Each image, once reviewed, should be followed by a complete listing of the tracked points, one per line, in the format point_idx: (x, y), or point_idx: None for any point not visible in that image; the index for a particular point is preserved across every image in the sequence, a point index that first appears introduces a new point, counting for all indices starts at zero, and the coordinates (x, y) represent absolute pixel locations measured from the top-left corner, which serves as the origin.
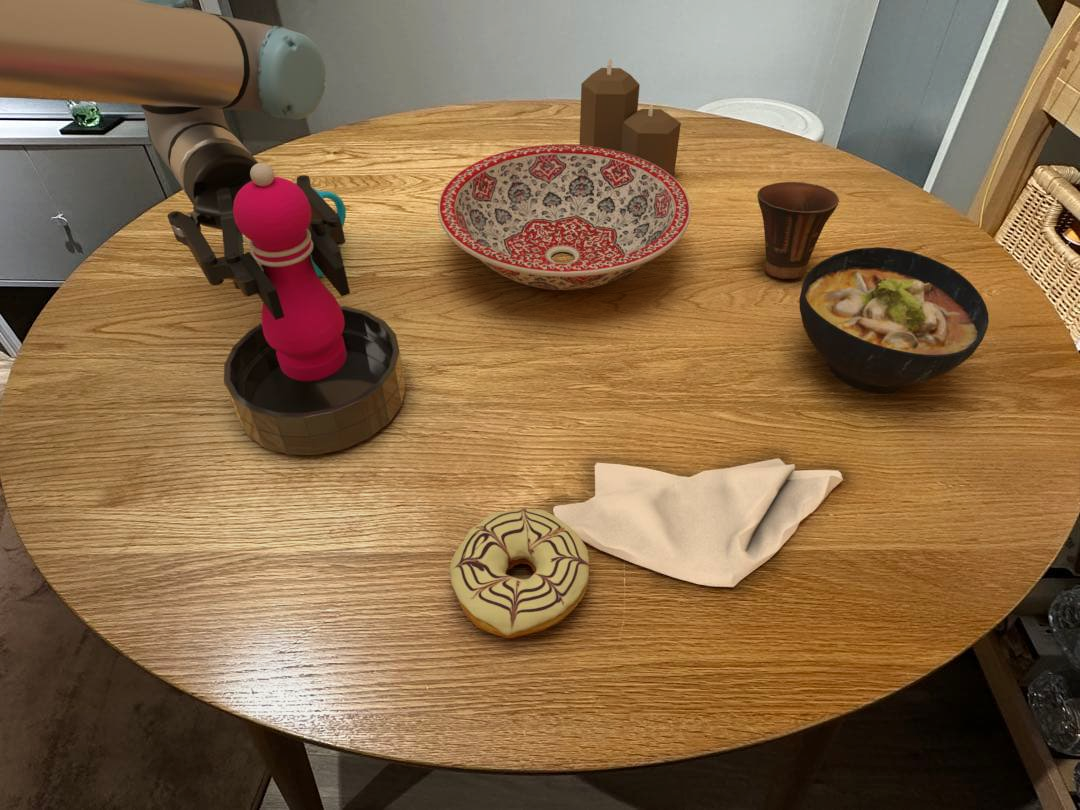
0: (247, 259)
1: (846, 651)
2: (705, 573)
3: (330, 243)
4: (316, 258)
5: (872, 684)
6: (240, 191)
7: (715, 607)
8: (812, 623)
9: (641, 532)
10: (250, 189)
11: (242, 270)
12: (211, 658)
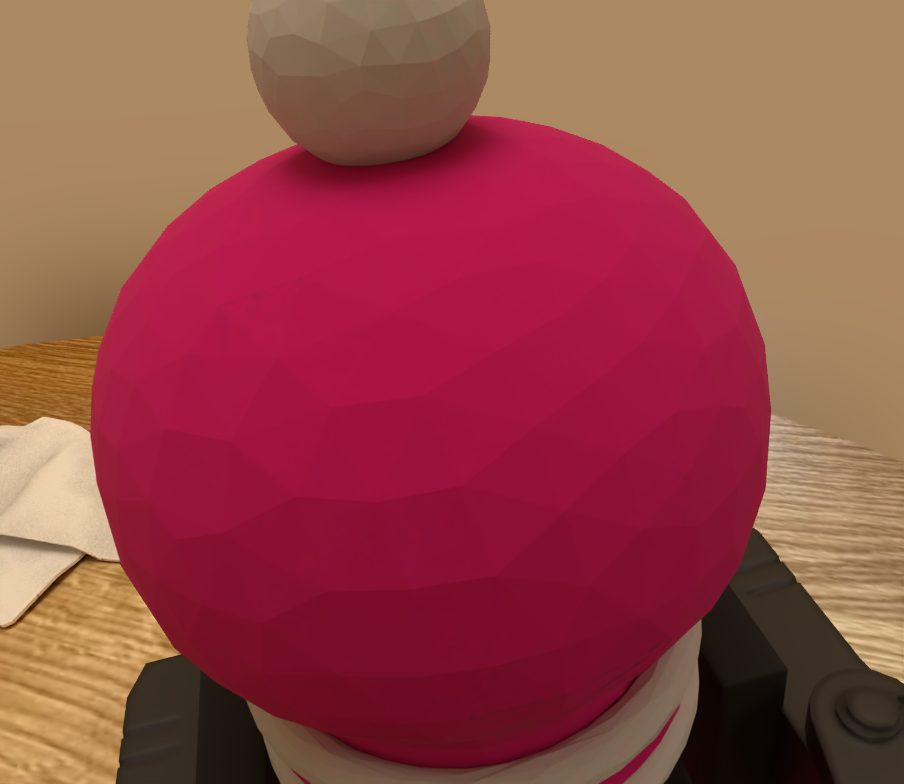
0: (722, 608)
1: (24, 367)
2: (61, 427)
3: (153, 762)
4: None
5: (39, 346)
6: (646, 192)
7: (90, 413)
8: (19, 389)
9: (79, 465)
10: (532, 133)
11: (758, 605)
12: (778, 448)
